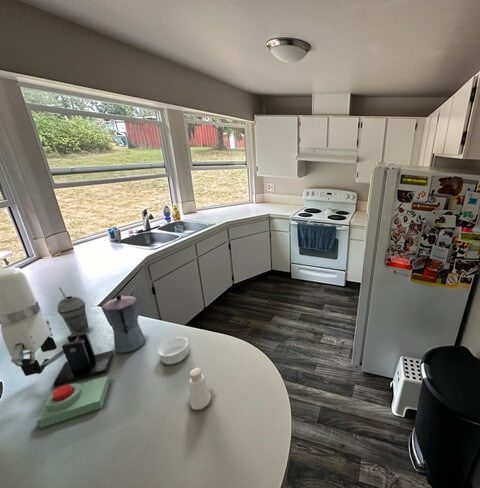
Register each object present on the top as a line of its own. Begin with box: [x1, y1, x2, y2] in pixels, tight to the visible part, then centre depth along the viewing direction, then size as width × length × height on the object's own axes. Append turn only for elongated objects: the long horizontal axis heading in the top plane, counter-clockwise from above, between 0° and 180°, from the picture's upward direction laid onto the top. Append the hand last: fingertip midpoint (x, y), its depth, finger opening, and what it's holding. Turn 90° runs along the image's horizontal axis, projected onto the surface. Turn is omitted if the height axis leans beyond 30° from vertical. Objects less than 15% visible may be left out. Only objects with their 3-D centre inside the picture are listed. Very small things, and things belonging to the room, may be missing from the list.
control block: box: [36, 375, 111, 429], centre depth 68 cm, size 12×9×4 cm
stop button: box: [51, 384, 73, 401], centre depth 66 cm, size 4×4×2 cm
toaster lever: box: [36, 337, 86, 375], centre depth 75 cm, size 12×5×2 cm
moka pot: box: [101, 294, 146, 354], centre depth 86 cm, size 10×15×20 cm, turn 45°
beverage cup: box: [57, 286, 90, 335], centre depth 91 cm, size 7×7×20 cm
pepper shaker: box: [188, 367, 212, 410], centre depth 69 cm, size 5×5×11 cm
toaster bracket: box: [52, 332, 114, 388], centre depth 78 cm, size 12×9×12 cm
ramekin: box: [157, 336, 189, 365], centre depth 85 cm, size 9×9×4 cm
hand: (42, 361), depth 74 cm, fingers open, 9 cm apart
